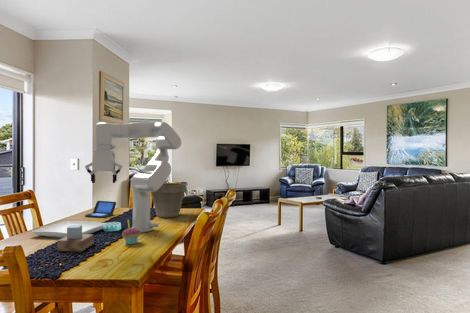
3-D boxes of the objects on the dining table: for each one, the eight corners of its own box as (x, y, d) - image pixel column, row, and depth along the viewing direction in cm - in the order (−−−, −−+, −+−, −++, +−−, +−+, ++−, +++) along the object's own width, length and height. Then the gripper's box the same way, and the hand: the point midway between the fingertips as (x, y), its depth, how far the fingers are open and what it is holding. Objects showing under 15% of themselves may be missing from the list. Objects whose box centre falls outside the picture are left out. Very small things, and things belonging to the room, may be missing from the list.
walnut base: (93, 244, 155) (93, 234, 155) (82, 252, 144) (82, 240, 144) (70, 244, 155) (70, 234, 155) (57, 251, 144) (57, 240, 144)
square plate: (77, 241, 161) (77, 233, 161) (30, 238, 166) (30, 230, 166) (109, 228, 187) (109, 222, 187) (67, 226, 193) (67, 219, 193)
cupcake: (130, 246, 152) (130, 220, 152) (117, 243, 156) (117, 218, 156) (144, 242, 159) (144, 217, 159) (132, 239, 164) (132, 215, 163)
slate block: (82, 235, 153) (82, 225, 152) (78, 238, 148) (78, 227, 148) (70, 236, 152) (70, 225, 152) (66, 238, 147) (66, 227, 147)
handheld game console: (84, 217, 218) (84, 203, 218) (97, 213, 231) (97, 200, 231) (104, 218, 214) (104, 204, 214) (116, 215, 227) (116, 201, 227)
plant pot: (157, 211, 238) (157, 181, 238) (190, 212, 235) (190, 182, 235) (143, 218, 214) (143, 185, 213) (179, 220, 210) (179, 186, 210)
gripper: (123, 148, 167) (123, 182, 167) (87, 148, 164) (87, 182, 164) (120, 148, 159) (120, 183, 160) (83, 147, 156) (83, 183, 157)
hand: (103, 182), depth 162 cm, fingers open, 9 cm apart
